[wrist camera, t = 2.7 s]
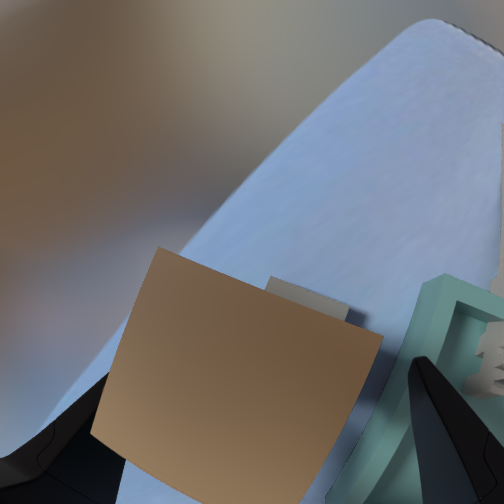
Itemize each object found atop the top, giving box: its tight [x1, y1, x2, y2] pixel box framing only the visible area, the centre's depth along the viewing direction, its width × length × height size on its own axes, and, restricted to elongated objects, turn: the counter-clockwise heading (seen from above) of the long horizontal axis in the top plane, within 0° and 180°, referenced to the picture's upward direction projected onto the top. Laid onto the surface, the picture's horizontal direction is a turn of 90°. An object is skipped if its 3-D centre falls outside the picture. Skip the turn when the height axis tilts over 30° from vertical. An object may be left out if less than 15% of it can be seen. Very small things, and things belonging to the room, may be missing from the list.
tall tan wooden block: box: [90, 247, 384, 504], centre depth 11 cm, size 6×4×14 cm
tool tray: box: [325, 273, 504, 504], centre depth 12 cm, size 14×14×4 cm
